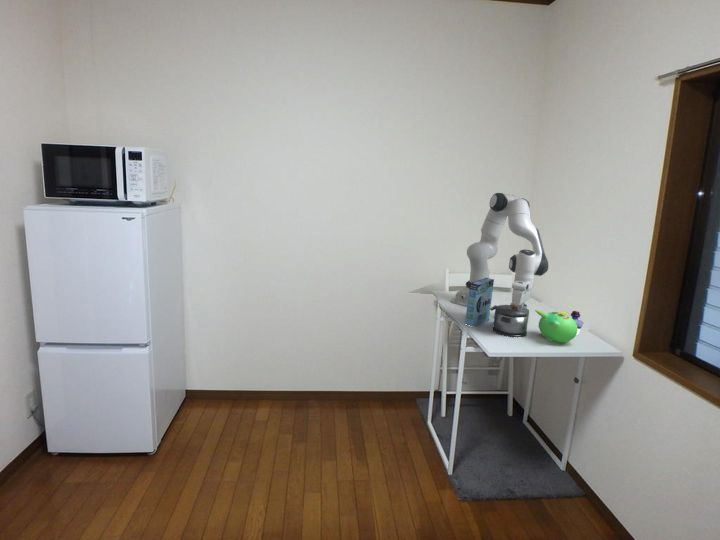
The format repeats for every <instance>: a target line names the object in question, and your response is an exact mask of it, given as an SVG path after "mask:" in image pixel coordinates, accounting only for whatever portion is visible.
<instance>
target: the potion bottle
mask: <svg viewBox="0 0 720 540" xmlns="http://www.w3.org/2000/svg"><path fill="white" fill-rule="evenodd" d="M570 317H571V318H572V319H573V320H574V321H575V323H576V325H577V329H578V331H577V334H576V335H578V336H579V333H580V331H581V329H582V327H583V325H584V321H583V320H581V319H579V318H580V317H581V314H580V311H577V310H572V312H570Z"/></svg>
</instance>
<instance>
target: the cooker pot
mask: <svg viewBox="0 0 720 540" xmlns="http://www.w3.org/2000/svg"><path fill="white" fill-rule="evenodd" d="M529 316H530V314H529V315H528V316H523V317H515V316H507V315H502V314H499V313H497V312H496V311H494V317H493V325H492V332H494V333H495V334H497V333H498V334H497V335H499V334H500V335H499V336H502V335H504V336H503V337H507V336H508V337H509V338H514V337H517V338H518V337H521V338H525V337H526V336H528V335H527V334H528V332H527V330H528V325H529V324H528V323H529ZM508 337H507V338H508Z"/></svg>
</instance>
